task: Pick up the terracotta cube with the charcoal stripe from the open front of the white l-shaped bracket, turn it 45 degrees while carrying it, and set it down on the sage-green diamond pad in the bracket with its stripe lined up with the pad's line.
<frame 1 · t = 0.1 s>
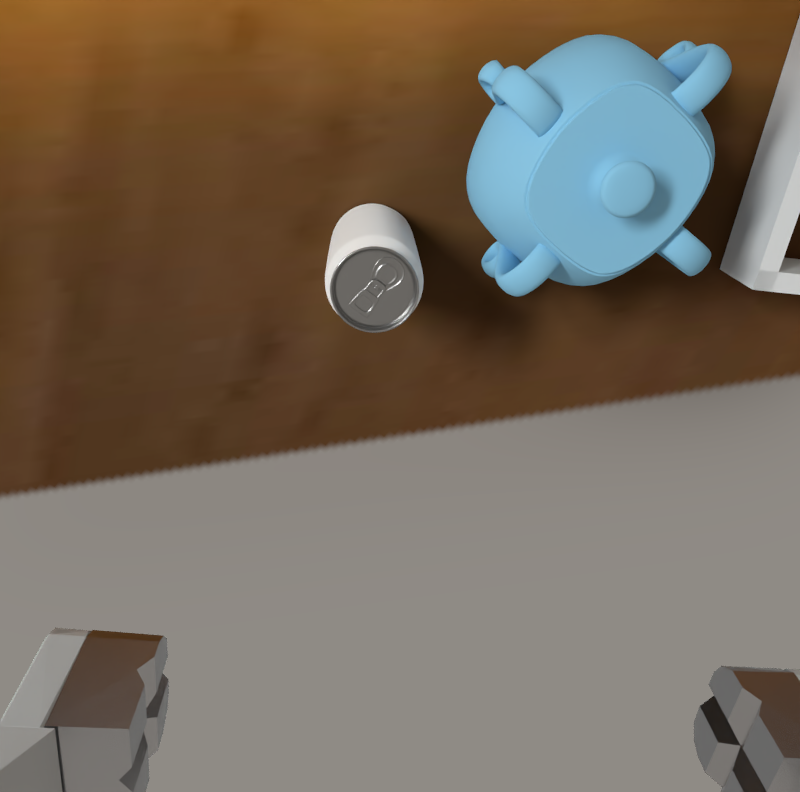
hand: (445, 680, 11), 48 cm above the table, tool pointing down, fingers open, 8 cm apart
decorative pot: (569, 158, 54), on the table
can: (372, 243, 56), on the table
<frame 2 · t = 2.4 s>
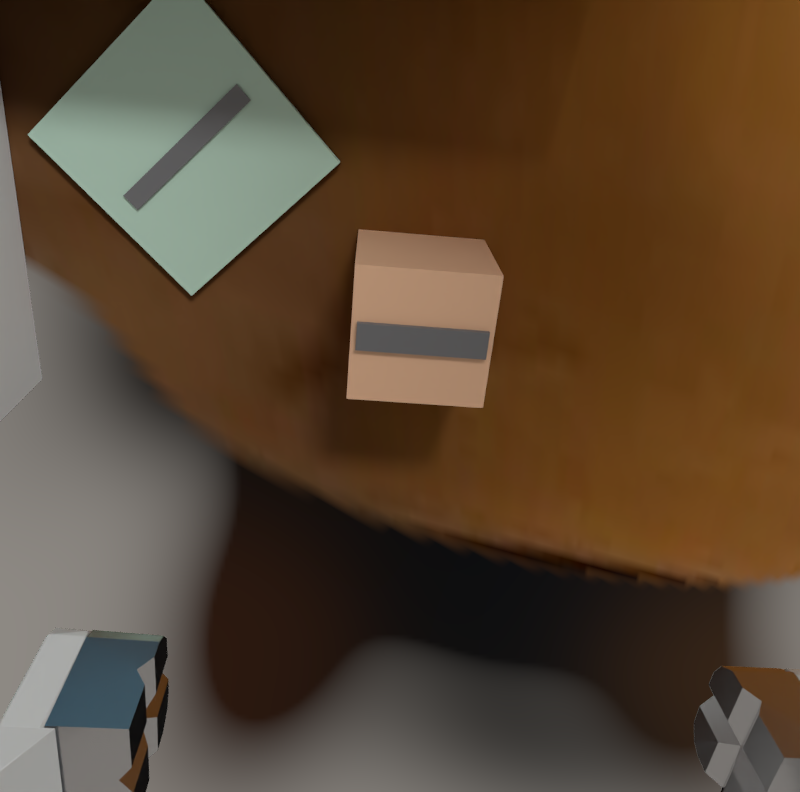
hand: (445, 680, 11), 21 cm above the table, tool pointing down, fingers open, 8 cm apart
cube: (415, 294, 30), on the table
white l-shaped bracket: (269, 182, 27), on the table
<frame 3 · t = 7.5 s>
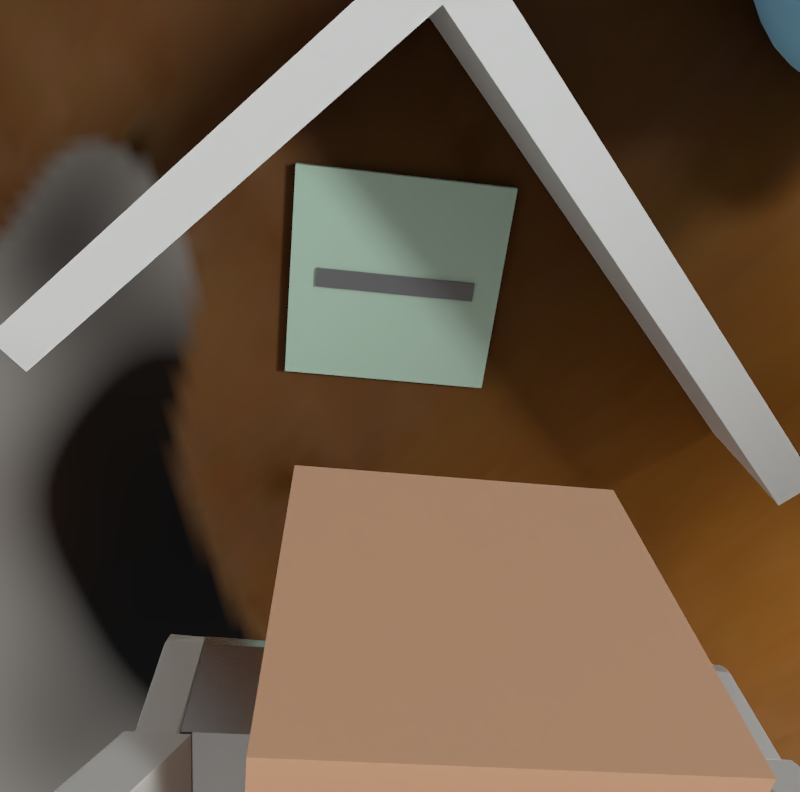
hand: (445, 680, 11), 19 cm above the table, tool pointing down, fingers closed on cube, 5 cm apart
cube: (434, 603, 12), point 17 cm above the table, touching gripper
white l-shaped bracket: (422, 353, 29), on the table
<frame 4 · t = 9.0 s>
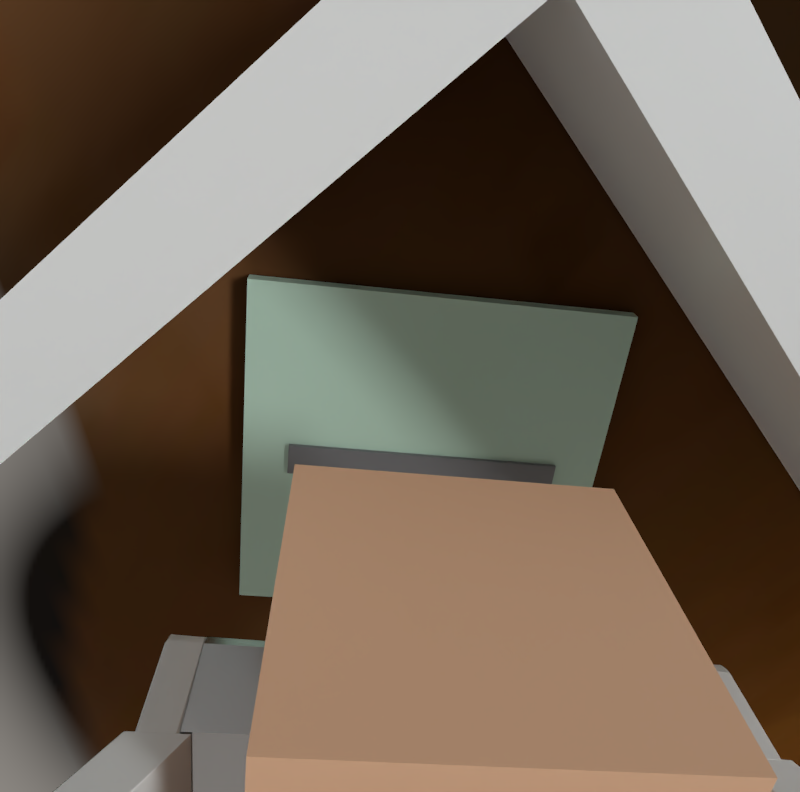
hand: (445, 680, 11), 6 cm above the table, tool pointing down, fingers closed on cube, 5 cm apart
cube: (435, 602, 12), point 5 cm above the table, touching gripper
white l-shaped bracket: (463, 563, 18), on the table
when the fingers open (3 cm above the table, at t = 10.0 s): cube stays where it is, resting on white l-shaped bracket.
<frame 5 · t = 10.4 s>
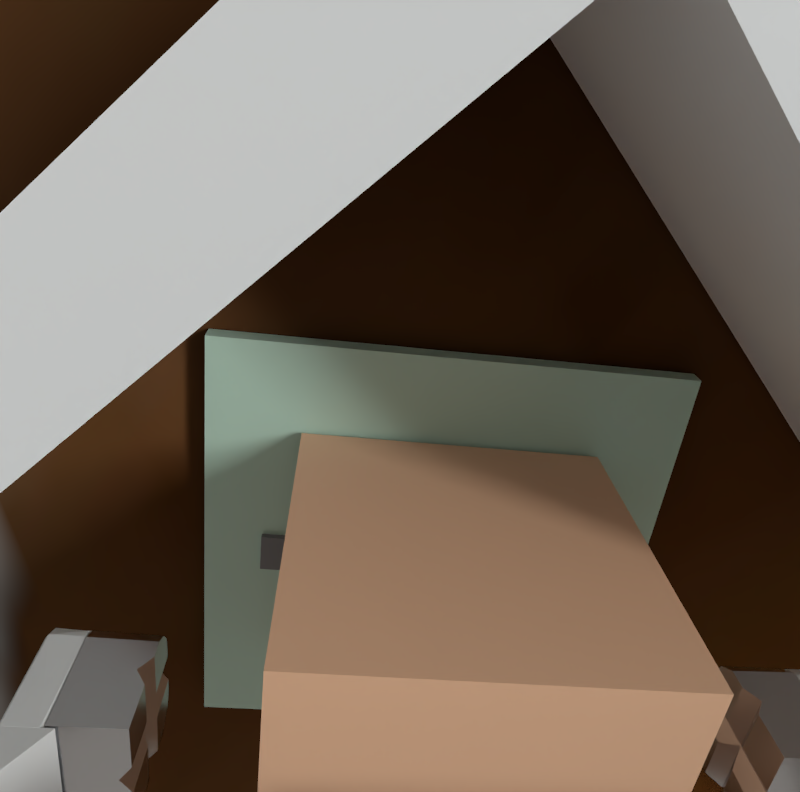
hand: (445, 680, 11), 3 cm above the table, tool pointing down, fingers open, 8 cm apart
cube: (431, 564, 13), resting on white l-shaped bracket
white l-shaped bracket: (476, 666, 15), on the table
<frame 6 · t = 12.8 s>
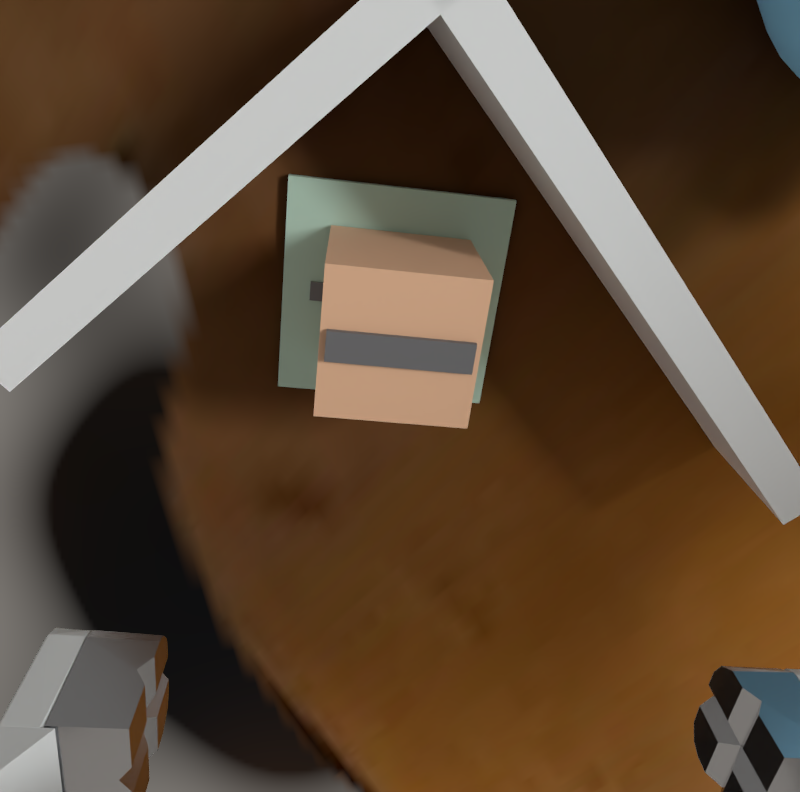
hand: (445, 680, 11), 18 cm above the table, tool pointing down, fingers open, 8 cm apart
cube: (393, 299, 27), resting on white l-shaped bracket
white l-shaped bracket: (418, 367, 28), on the table
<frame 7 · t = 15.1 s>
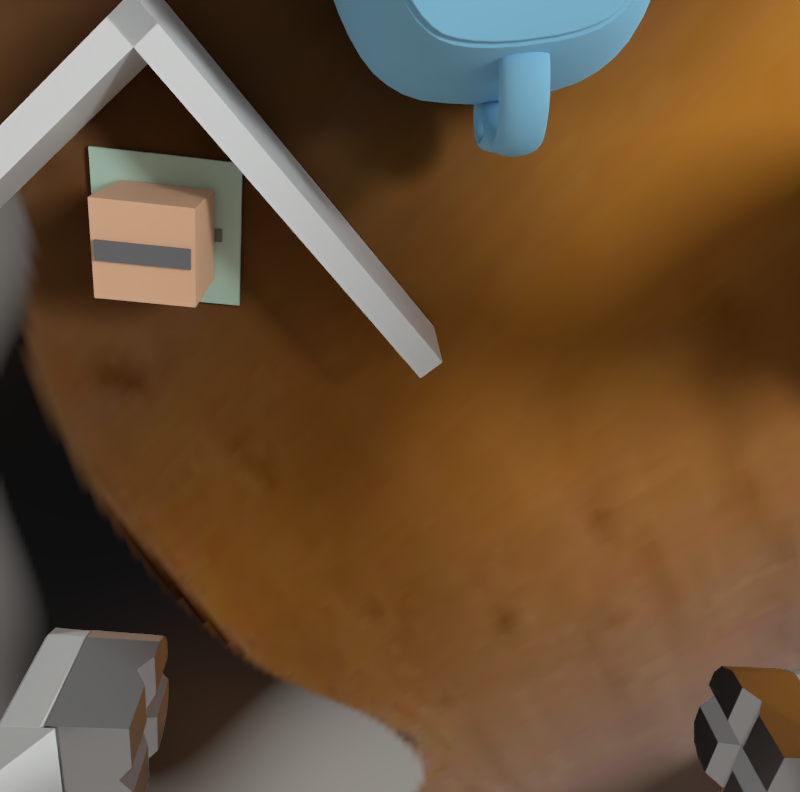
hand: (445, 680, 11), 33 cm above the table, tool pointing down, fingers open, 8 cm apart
cube: (168, 230, 40), resting on white l-shaped bracket
white l-shaped bracket: (194, 280, 42), on the table
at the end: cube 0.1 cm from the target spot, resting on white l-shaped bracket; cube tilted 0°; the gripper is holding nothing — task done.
